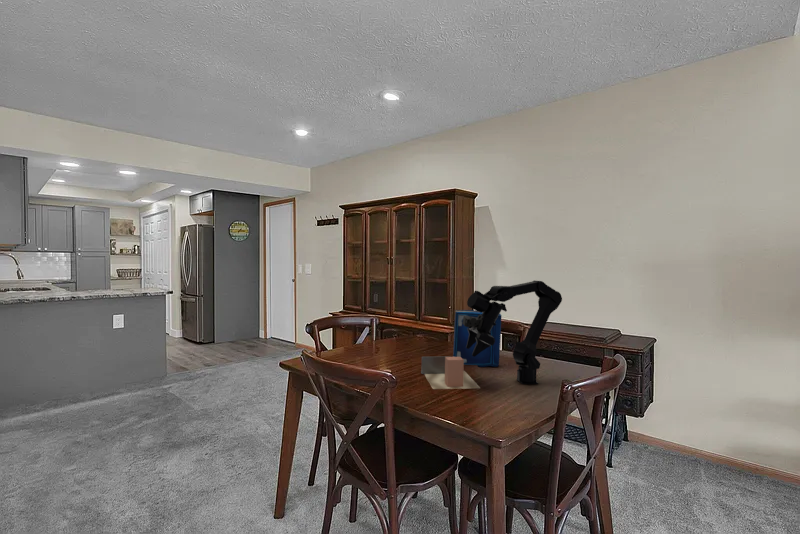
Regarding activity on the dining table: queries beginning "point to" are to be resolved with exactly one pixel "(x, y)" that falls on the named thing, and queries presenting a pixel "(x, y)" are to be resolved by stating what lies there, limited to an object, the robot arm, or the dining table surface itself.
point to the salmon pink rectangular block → (454, 371)
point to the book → (461, 337)
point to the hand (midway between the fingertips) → (470, 352)
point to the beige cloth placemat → (439, 383)
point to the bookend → (433, 365)
